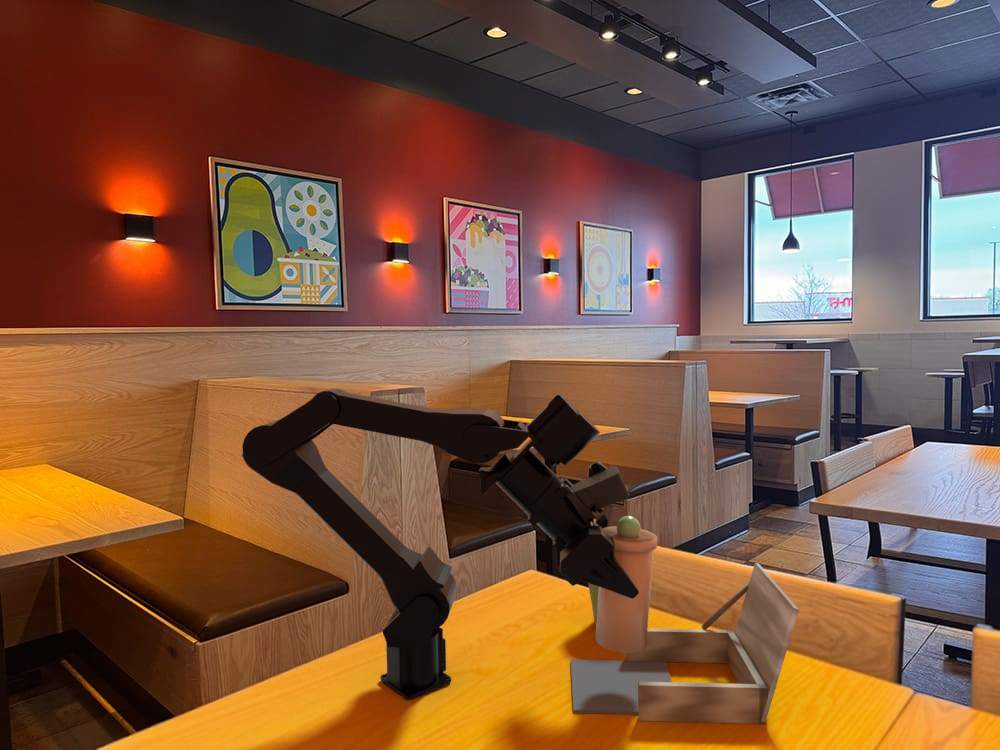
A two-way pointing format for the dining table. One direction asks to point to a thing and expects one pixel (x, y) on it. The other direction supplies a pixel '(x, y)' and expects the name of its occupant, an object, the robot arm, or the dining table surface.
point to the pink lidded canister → (616, 613)
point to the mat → (612, 684)
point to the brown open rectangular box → (723, 660)
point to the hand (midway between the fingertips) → (632, 585)
